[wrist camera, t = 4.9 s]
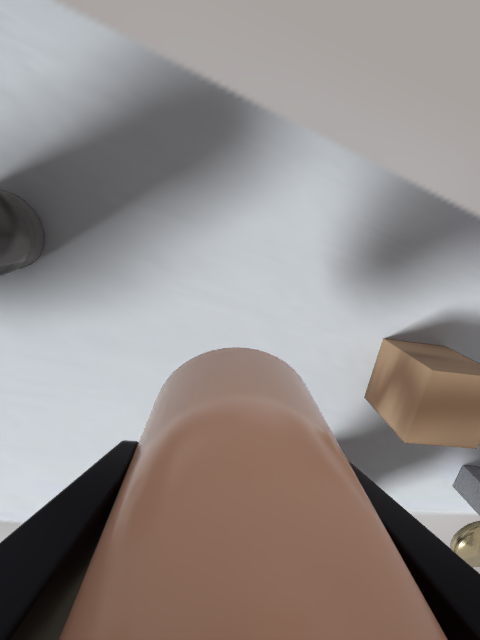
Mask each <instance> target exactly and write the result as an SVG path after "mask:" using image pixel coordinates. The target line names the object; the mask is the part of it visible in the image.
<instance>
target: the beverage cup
mask: <svg viewBox="0 0 480 640" xmlns="http://www.w3.org/2000/svg"><path fill="white" fill-rule="evenodd" d="M43 247H44V232H43V228H42V224H41V222H40V220H39V218H38V217H37V215H36V213H35V211H34V210H33V209H32V208H31V207H30V206H29V205H28V204H27V203H26V202H25V201H24V200H22V199H21V198H19V197H17V196H16V195H14V194H12V193H9V192H5V191H2V190H0V275H4V274H6V273H9V272H11V271H14V270H16V269H18V268H23V267H25V266H28V265H30V264H32V263H33V262H34V261H35V260H36V259H37V258H38V257H39V256H40V253H41V251H42V249H43Z"/></svg>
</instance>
